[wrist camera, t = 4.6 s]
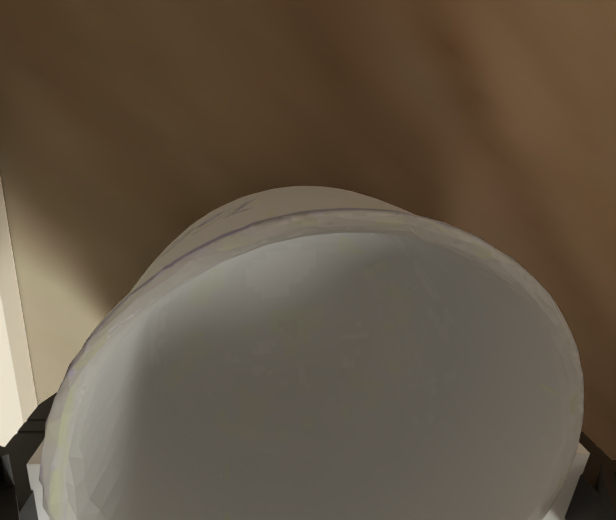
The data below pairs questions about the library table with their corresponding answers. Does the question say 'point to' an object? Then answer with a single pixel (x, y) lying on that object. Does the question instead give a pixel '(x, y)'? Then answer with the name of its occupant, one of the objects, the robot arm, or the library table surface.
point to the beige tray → (12, 343)
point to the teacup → (319, 376)
